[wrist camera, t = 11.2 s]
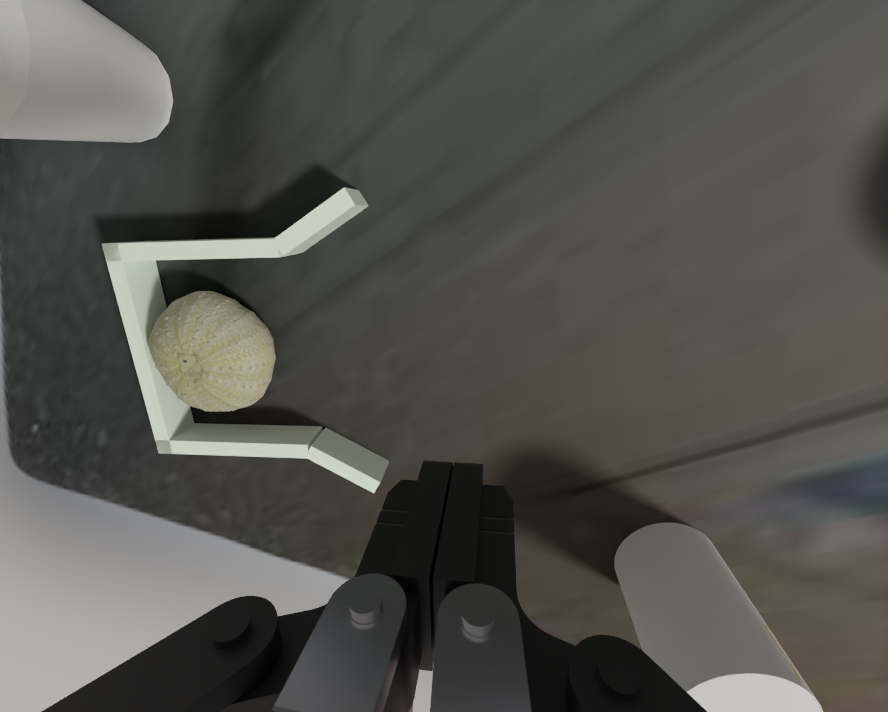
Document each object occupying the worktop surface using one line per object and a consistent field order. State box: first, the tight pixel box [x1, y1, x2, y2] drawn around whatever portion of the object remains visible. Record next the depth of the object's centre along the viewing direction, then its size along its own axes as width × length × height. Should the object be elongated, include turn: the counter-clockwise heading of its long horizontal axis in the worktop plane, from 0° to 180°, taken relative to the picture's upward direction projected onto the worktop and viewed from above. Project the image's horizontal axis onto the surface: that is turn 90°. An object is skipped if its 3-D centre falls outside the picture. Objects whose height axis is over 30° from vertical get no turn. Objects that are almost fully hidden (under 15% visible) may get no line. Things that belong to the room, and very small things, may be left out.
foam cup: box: [0, 0, 173, 143], centre depth 22 cm, size 10×9×13 cm
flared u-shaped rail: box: [102, 187, 389, 493], centre depth 32 cm, size 22×18×3 cm
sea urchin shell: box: [149, 291, 276, 412], centre depth 32 cm, size 9×8×8 cm
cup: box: [614, 523, 823, 712], centre depth 30 cm, size 8×8×12 cm
